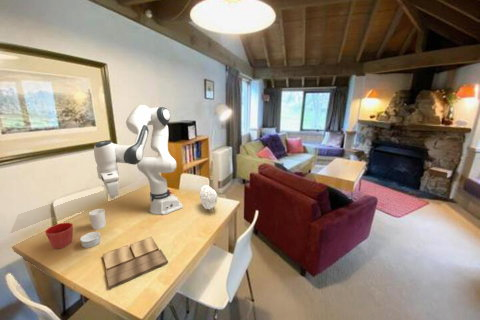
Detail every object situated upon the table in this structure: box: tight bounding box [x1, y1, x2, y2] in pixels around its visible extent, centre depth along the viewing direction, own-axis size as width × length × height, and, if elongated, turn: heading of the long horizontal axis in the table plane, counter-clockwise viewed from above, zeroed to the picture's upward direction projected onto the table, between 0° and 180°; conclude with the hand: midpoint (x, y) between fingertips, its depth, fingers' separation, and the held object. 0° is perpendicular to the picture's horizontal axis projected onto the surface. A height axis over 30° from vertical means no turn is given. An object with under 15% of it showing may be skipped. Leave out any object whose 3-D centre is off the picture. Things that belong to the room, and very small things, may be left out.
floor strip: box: [105, 248, 169, 290], centre depth 96 cm, size 24×11×2 cm, turn 129°
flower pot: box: [44, 222, 74, 250], centre depth 109 cm, size 11×11×10 cm
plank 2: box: [129, 236, 160, 260], centre depth 108 cm, size 11×12×2 cm
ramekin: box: [79, 231, 101, 249], centre depth 111 cm, size 9×9×4 cm
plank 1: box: [102, 245, 134, 271], centre depth 101 cm, size 11×12×2 cm
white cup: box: [88, 208, 107, 230], centre depth 125 cm, size 8×8×10 cm
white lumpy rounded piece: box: [199, 184, 218, 212], centre depth 150 cm, size 18×11×17 cm, turn 32°
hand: (112, 197), depth 110 cm, fingers closed
